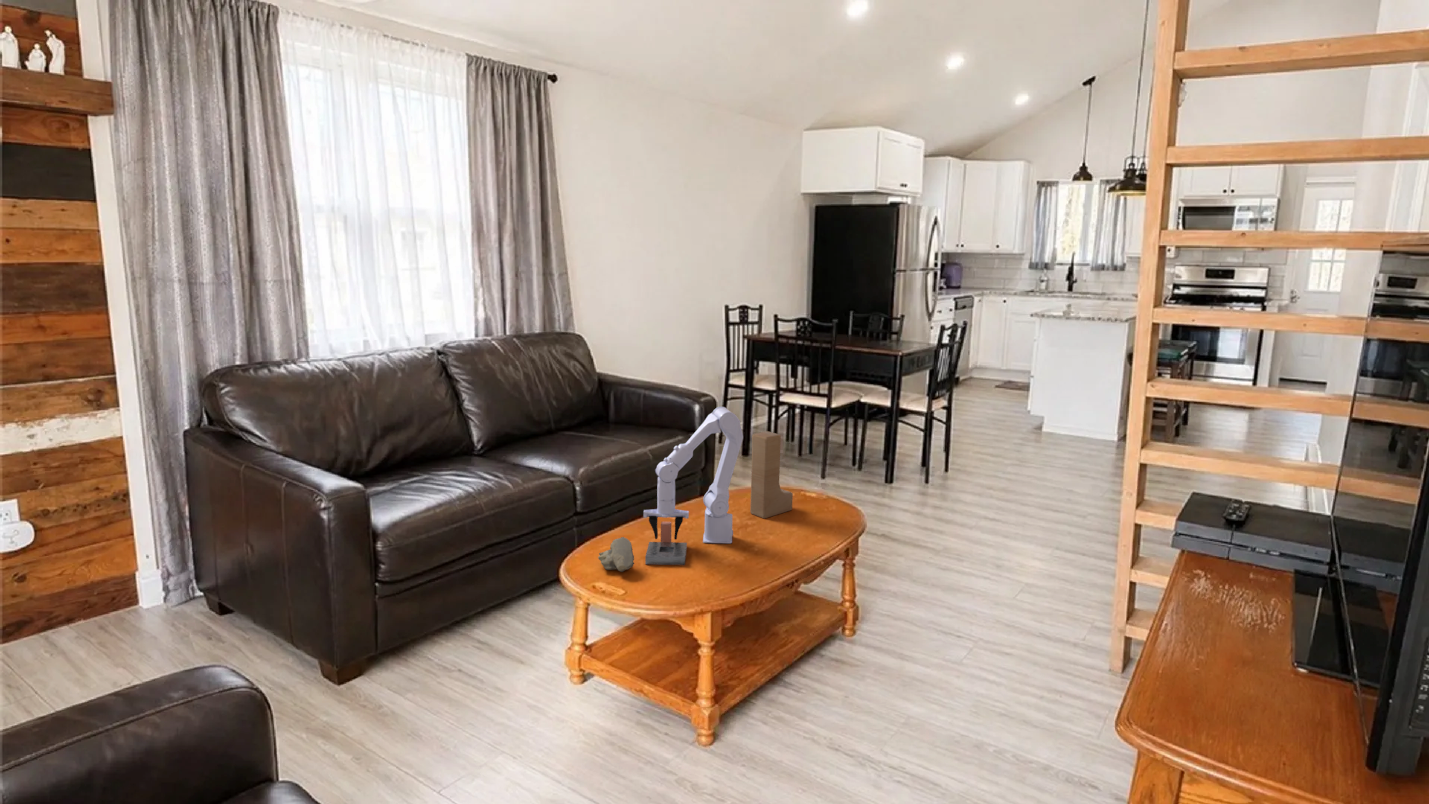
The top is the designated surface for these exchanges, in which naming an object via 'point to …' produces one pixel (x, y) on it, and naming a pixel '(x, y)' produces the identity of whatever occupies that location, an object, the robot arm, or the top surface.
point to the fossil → (618, 555)
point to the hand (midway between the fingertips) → (666, 538)
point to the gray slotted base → (666, 553)
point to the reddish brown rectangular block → (665, 531)
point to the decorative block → (767, 477)
